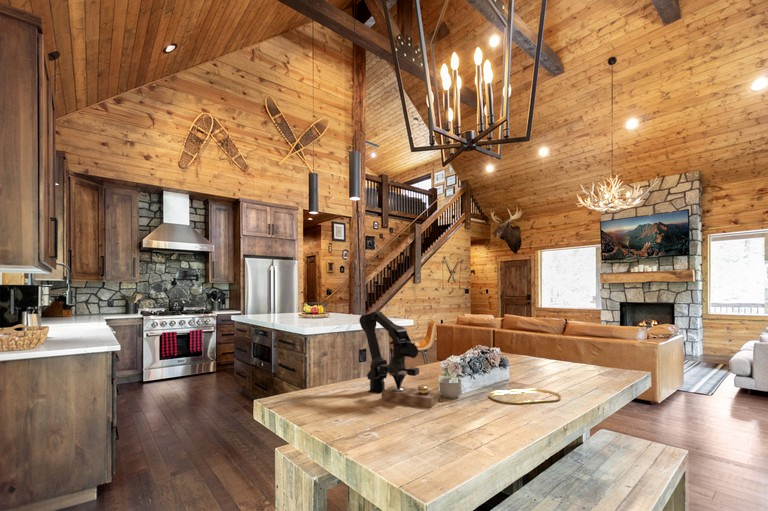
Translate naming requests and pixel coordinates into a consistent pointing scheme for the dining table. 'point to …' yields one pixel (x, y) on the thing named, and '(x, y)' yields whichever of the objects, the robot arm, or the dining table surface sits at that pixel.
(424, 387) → the brass plug
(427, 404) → the walnut block
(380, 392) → the robot arm
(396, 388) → the grey plug
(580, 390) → the dining table surface
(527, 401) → the gold ring
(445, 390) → the teacup
